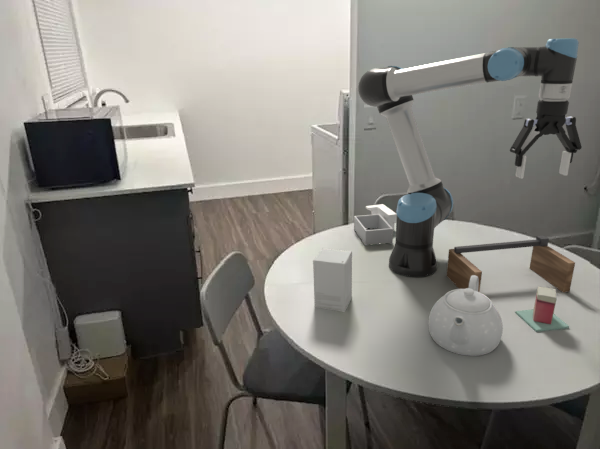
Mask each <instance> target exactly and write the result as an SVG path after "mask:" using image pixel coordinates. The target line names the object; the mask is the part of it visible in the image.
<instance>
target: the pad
mask: <svg viewBox="0 0 600 449" xmlns="http://www.w3.org/2000/svg"><path fill="white" fill-rule="evenodd" d="M533 310H534V308H533V309H524V310H516V311H514V313H515V315H517V316H518V317H520V319H521V320H522V321H523V322H524V323H526V324H527V325H528V326H529V327H530V328H531V329H532V330H534V332H546V331H554V330H555V331H556V330H565V329H569V328H570V325H569V324H567V322H565V321H563V320H562V319H561V318H560V317H558V315H556V314H555V313H554V314H553V319H552V324H546V323H541V322H536V321H533Z"/></svg>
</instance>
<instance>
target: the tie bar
mask: <svg viewBox="0 0 600 449" xmlns="http://www.w3.org/2000/svg"><path fill="white" fill-rule="evenodd" d="M549 239H550V238H549V237H547V236H545V235H537V236H536V239H528V240H516V241H506V242H505V241H504V242H493V243H483V244H470V245H460V246H454V248H453V249H454V252H455V253H461V254H465V253H478V252H485V251H496V250H497V251H498V250H499V251H500V250H510V249H521V248H529V247H530V248H533V246H549Z"/></svg>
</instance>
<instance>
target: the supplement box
mask: <svg viewBox="0 0 600 449" xmlns="http://www.w3.org/2000/svg"><path fill="white" fill-rule="evenodd" d="M312 265H313V295H314V297H313V298H314V303H313V304H314V307H315V308H317V309H325V310H331V311H337V312H343V313H345V312H346V311H347V309H348V307H349V305H350V302H351V300H352V298H353V289H352V288H353V267H352V266H353V251H352V250H341V249H333V248H331V249H330V248H324V247H322V248H321V249H320V251H319V252H318V254H317V255H316V256H315V258H314V259H313V260H312Z"/></svg>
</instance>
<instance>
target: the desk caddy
mask: <svg viewBox="0 0 600 449" xmlns="http://www.w3.org/2000/svg"><path fill="white" fill-rule="evenodd" d="M365 228H374V229H365ZM378 228H379V229H378ZM353 230H354V232H355V231H356V232H357V233H356V232H355V233H356V235H357V236H358V235H359V236H360V237H359V236H358V237H359V239H360V238H361V239H362V240H361V239H360V240H361V241H362V243H363V242H364V243H363V244H364V246H369V245H368V244H377V245H380V244H379V243H390V244H393V240H394V238H393V237H394V231H393V228H392V227H391V226H390V225H389V224H388V223H387V222H386V221H385V220H384V218H383V217H382V216H381V215H380V214H374V215H371V214H366V215H365V214H364V215H363V214H362V215H354V216H353Z"/></svg>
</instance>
